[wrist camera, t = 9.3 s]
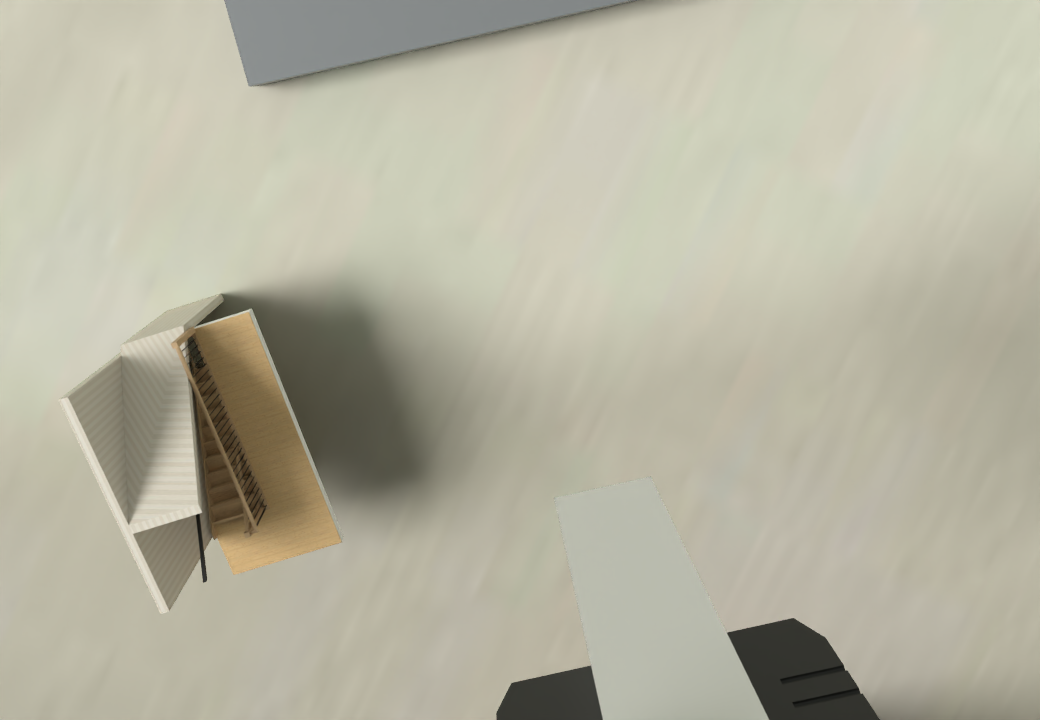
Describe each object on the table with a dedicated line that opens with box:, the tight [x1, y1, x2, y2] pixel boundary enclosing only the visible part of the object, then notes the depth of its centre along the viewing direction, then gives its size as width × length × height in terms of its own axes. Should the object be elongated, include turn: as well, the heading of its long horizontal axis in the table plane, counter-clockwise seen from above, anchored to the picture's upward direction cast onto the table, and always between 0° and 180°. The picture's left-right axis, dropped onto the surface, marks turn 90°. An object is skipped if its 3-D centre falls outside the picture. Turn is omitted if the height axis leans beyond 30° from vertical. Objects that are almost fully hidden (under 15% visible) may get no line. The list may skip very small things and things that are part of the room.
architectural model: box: [59, 294, 343, 614], centre depth 25 cm, size 3×7×7 cm, turn 17°
